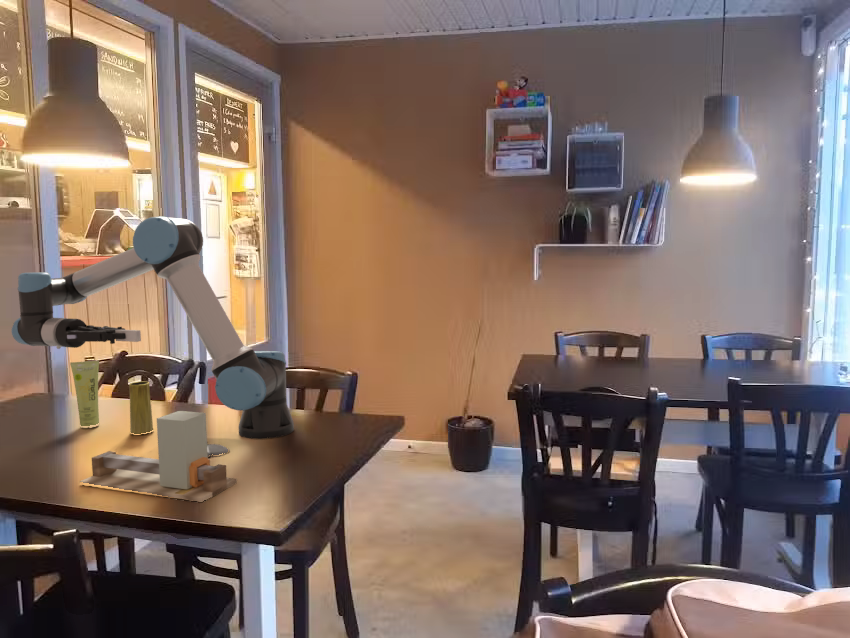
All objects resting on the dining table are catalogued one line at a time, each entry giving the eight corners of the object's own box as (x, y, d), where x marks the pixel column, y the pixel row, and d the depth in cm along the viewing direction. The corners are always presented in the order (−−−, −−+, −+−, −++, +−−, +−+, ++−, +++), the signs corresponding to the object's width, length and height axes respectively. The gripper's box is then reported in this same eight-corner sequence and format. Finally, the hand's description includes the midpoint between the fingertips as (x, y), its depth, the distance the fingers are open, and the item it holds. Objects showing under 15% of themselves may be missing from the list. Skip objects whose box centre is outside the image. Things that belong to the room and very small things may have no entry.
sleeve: (160, 485, 140) (156, 418, 138) (182, 475, 146) (179, 410, 145) (192, 490, 137) (188, 421, 135) (213, 479, 144) (210, 413, 142)
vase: (137, 437, 181) (134, 386, 179) (125, 433, 184) (123, 383, 183) (158, 432, 186) (155, 382, 184) (146, 428, 189) (143, 380, 188)
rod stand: (80, 485, 144) (78, 462, 143) (121, 468, 155) (120, 446, 155) (201, 503, 133) (200, 477, 133) (236, 483, 145) (235, 459, 144)
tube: (85, 430, 188) (80, 363, 185) (74, 428, 190) (69, 362, 188) (103, 425, 192) (99, 360, 190) (92, 423, 195) (88, 359, 193)
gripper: (87, 343, 177) (157, 347, 170) (45, 350, 165) (119, 355, 158) (85, 315, 177) (156, 318, 169) (43, 321, 164) (117, 324, 157)
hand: (138, 336), depth 163 cm, fingers closed
